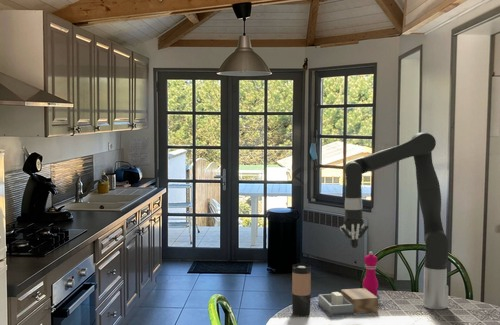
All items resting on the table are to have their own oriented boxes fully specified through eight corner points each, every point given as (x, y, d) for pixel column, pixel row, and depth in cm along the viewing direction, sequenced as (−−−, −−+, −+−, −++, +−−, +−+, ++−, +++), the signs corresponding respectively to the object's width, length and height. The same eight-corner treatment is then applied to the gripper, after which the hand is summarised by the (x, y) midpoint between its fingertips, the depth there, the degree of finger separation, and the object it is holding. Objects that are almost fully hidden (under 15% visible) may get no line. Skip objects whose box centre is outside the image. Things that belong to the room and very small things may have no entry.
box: (340, 302, 247) (340, 293, 247) (353, 314, 231) (353, 304, 231) (318, 303, 245) (318, 294, 245) (330, 315, 229) (330, 306, 229)
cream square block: (338, 291, 242) (331, 292, 241) (342, 295, 237) (336, 295, 236) (337, 303, 242) (331, 303, 242) (342, 306, 238) (336, 307, 237)
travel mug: (312, 311, 234) (312, 264, 233) (308, 317, 227) (308, 268, 226) (294, 309, 237) (294, 262, 236) (289, 315, 230) (290, 267, 228)
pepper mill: (378, 296, 255) (379, 253, 254) (362, 295, 256) (363, 252, 255) (378, 292, 262) (378, 249, 261) (362, 291, 263) (363, 249, 262)
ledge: (364, 301, 248) (364, 288, 248) (377, 311, 234) (377, 297, 234) (340, 302, 246) (341, 289, 245) (352, 313, 232) (352, 299, 232)
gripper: (364, 205, 247) (364, 244, 248) (335, 207, 244) (336, 246, 245) (371, 208, 240) (371, 248, 241) (342, 209, 237) (343, 250, 238)
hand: (354, 247), depth 243 cm, fingers closed
